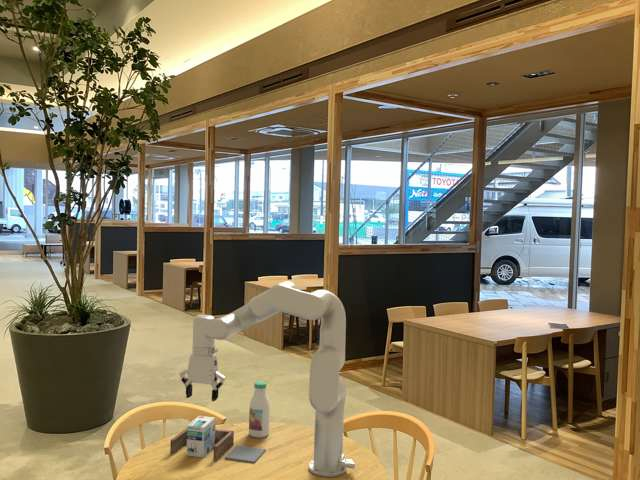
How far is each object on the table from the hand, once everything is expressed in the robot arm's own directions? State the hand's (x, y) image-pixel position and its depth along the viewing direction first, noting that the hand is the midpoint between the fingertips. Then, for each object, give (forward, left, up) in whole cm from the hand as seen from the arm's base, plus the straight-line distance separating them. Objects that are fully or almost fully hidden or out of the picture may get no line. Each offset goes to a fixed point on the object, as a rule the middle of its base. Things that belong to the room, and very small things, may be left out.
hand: (201, 398), depth 206 cm
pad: (-16, -2, -19) cm, 25 cm away
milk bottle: (-14, -21, -19) cm, 32 cm away
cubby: (0, -1, -19) cm, 19 cm away
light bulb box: (0, 0, -19) cm, 19 cm away
